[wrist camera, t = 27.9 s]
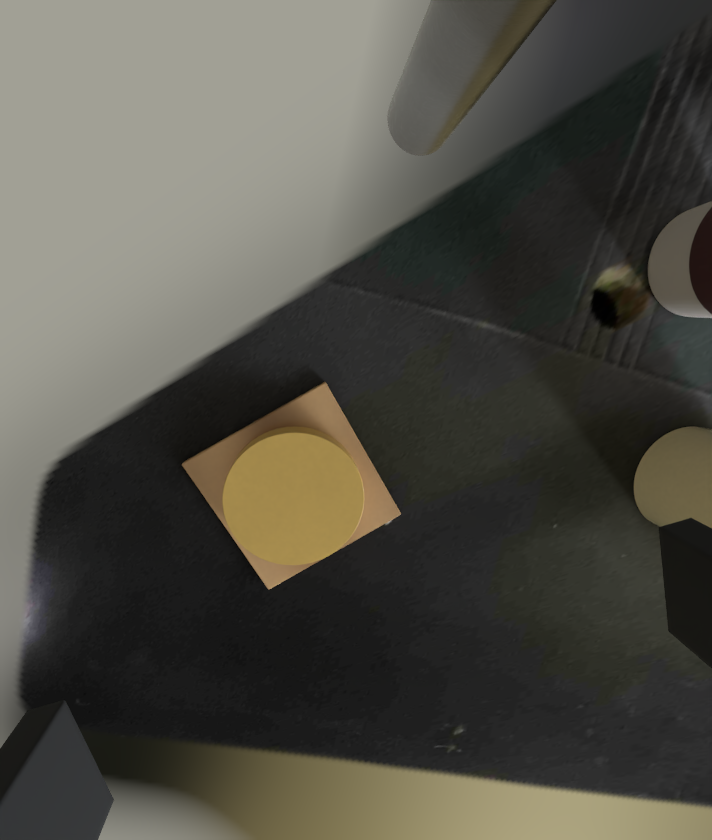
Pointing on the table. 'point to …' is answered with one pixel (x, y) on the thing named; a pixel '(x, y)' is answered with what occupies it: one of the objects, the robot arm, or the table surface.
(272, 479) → the jar lid
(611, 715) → the table surface
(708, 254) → the coffee cup
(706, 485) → the jar
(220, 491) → the coaster
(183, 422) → the table surface
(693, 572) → the robot arm
